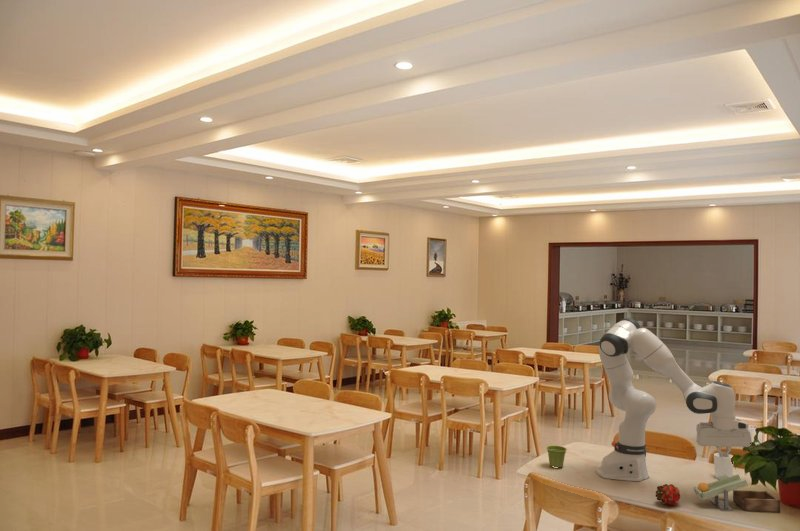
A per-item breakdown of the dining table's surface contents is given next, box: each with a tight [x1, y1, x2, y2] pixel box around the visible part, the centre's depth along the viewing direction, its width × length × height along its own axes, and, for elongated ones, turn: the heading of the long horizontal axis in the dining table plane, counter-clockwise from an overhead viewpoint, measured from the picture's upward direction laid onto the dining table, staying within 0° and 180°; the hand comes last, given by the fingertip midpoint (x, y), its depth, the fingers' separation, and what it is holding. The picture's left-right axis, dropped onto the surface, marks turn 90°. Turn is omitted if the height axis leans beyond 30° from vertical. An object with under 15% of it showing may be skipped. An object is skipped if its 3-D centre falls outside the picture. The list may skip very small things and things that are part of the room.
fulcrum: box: [709, 490, 734, 512], centre depth 240 cm, size 4×10×7 cm, turn 175°
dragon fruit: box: [655, 483, 682, 507], centre depth 241 cm, size 8×8×12 cm
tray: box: [732, 489, 781, 513], centre depth 238 cm, size 13×10×4 cm
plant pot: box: [546, 445, 568, 467], centre depth 288 cm, size 9×9×9 cm
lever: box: [693, 474, 749, 501], centre depth 243 cm, size 18×13×3 cm
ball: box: [697, 482, 709, 493], centre depth 240 cm, size 4×4×4 cm
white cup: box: [713, 452, 734, 478], centre depth 273 cm, size 8×8×10 cm
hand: (723, 457), depth 247 cm, fingers closed
